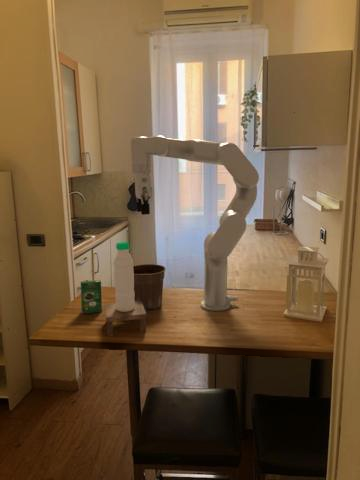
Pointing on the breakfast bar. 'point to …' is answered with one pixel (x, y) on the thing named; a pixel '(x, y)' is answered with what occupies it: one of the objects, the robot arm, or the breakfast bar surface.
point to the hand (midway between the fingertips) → (143, 212)
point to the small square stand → (125, 315)
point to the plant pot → (149, 285)
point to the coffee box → (91, 296)
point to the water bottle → (124, 278)
